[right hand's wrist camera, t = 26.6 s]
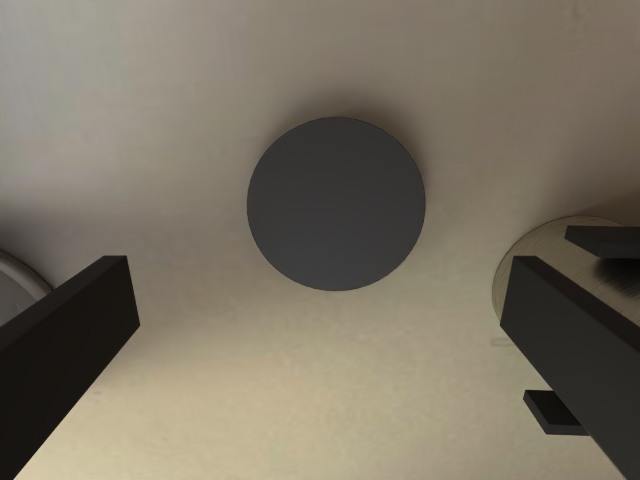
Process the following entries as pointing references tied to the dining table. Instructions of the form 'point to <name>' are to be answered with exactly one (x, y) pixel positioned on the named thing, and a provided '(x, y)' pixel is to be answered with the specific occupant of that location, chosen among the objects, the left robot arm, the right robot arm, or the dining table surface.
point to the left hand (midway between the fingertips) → (556, 333)
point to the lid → (336, 204)
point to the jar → (577, 268)
